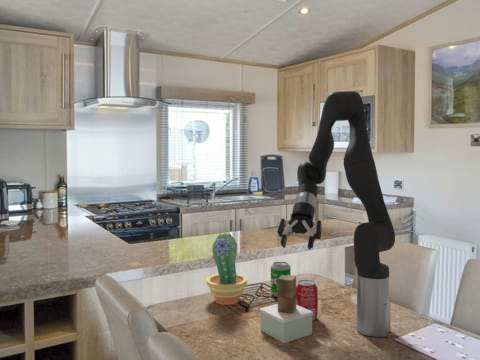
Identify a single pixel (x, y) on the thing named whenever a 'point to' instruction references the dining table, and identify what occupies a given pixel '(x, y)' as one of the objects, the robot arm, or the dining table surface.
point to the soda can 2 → (307, 296)
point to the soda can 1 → (278, 274)
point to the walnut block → (286, 294)
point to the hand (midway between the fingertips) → (296, 247)
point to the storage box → (286, 323)
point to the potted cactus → (226, 271)
